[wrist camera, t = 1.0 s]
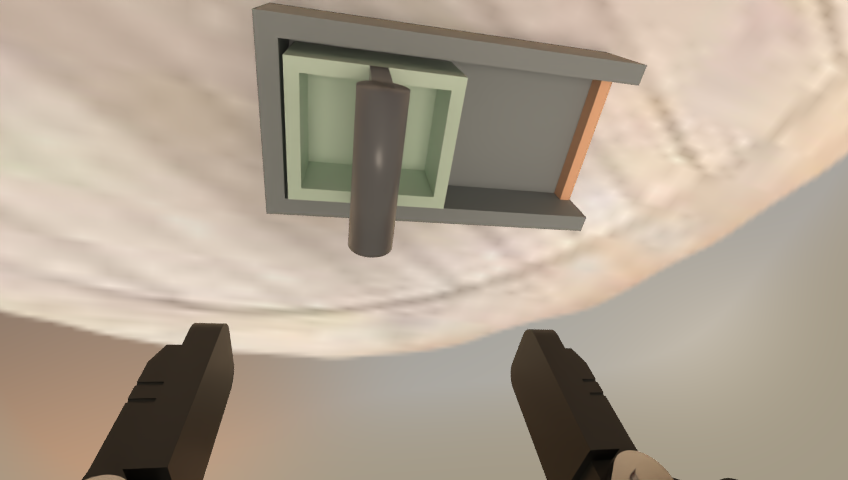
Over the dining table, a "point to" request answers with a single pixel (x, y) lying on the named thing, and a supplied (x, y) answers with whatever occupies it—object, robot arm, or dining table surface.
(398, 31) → the bay
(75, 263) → the dining table surface
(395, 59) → the box
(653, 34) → the dining table surface
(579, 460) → the robot arm
